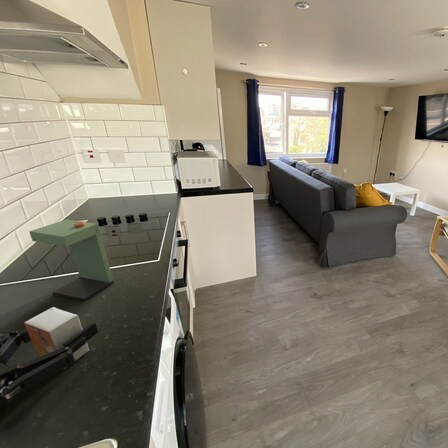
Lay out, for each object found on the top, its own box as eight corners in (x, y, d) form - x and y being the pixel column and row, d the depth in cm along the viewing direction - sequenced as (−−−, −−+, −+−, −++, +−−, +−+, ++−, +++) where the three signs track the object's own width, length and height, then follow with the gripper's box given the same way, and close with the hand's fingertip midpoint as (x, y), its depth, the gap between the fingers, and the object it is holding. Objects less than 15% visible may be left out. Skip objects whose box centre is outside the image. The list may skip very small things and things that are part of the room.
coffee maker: (53, 294, 80) (27, 228, 72) (85, 277, 89) (65, 216, 81) (84, 301, 77) (62, 233, 69) (114, 282, 86) (97, 221, 78)
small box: (39, 359, 58) (22, 322, 55) (66, 341, 63) (53, 305, 59) (63, 370, 56) (48, 332, 52) (90, 350, 61) (77, 314, 57)
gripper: (-102, 414, 45) (41, 325, 65) (-1, 454, 40) (120, 345, 60) (-126, 384, 42) (31, 300, 62) (-22, 423, 37) (112, 319, 57)
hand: (75, 322), depth 61 cm, fingers open, 11 cm apart
